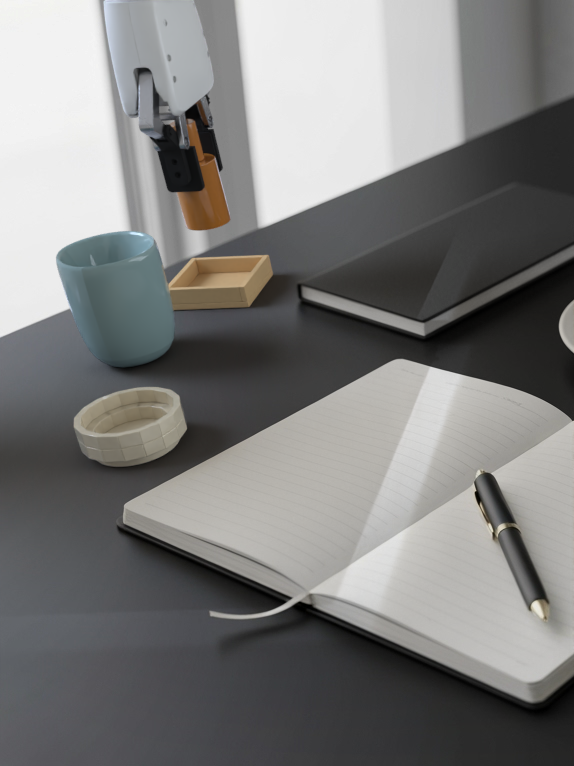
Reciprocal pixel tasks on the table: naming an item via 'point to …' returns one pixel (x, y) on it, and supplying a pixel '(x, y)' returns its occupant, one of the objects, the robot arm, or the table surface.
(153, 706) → the table surface
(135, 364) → the cup
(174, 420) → the bowl
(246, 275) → the tray
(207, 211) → the bottle
